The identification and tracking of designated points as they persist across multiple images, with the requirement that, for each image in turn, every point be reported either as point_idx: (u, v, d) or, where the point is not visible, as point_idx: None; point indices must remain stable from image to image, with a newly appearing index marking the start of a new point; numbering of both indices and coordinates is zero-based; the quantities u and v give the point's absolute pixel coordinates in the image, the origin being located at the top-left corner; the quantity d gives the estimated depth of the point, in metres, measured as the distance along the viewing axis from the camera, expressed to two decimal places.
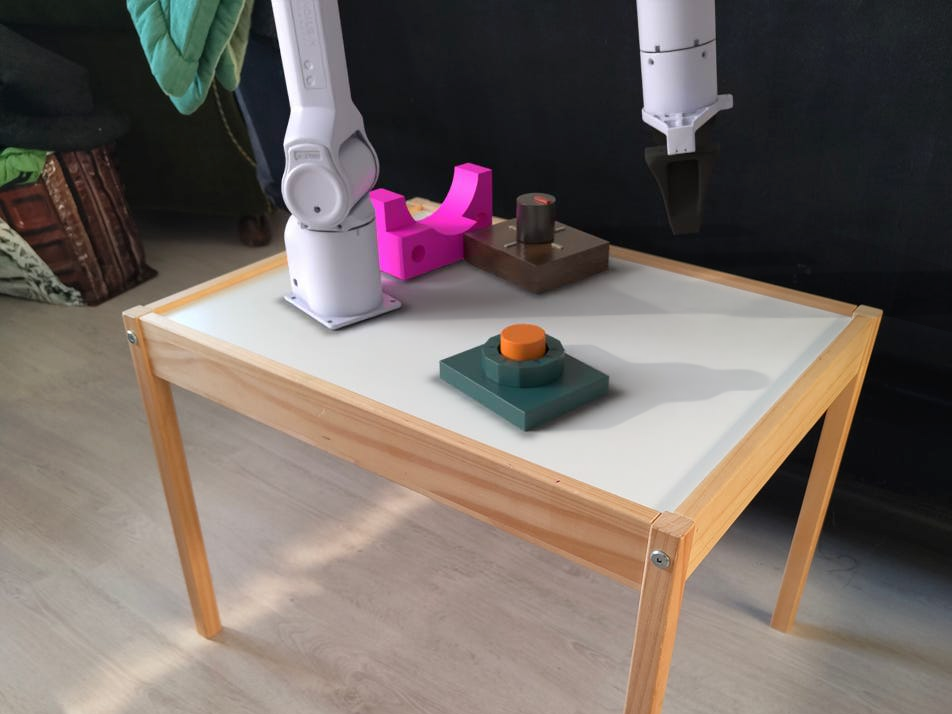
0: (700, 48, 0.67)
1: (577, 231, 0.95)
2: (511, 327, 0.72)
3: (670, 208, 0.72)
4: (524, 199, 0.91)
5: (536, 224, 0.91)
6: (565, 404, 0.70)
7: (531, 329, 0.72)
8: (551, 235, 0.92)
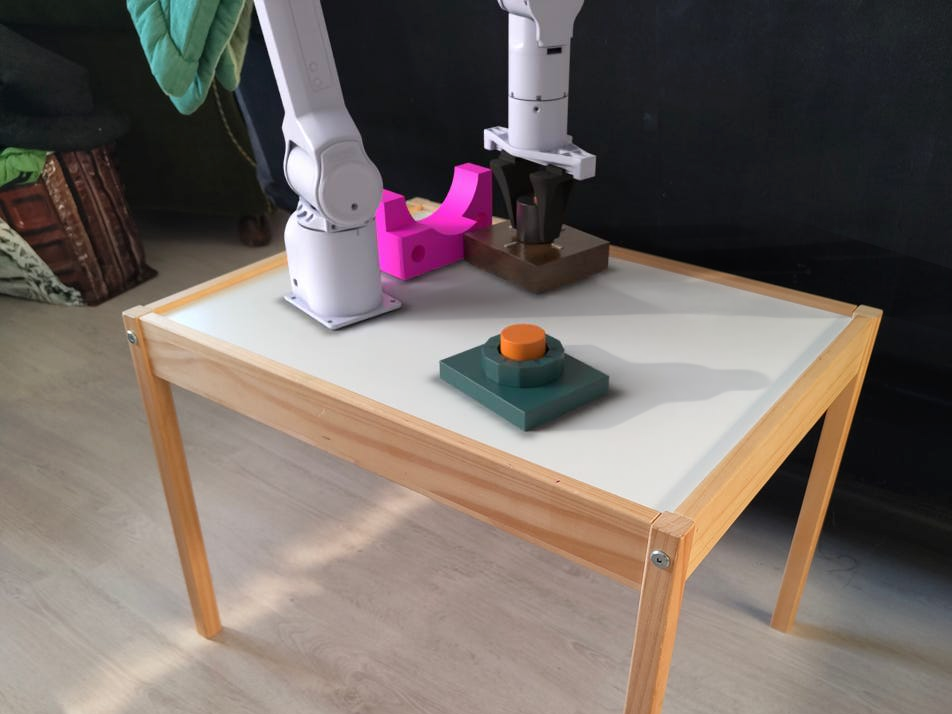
0: (567, 97, 0.85)
1: (577, 231, 0.95)
2: (511, 327, 0.72)
3: (546, 220, 0.90)
4: (524, 199, 0.91)
5: (536, 224, 0.91)
6: (565, 404, 0.70)
7: (531, 329, 0.72)
8: None
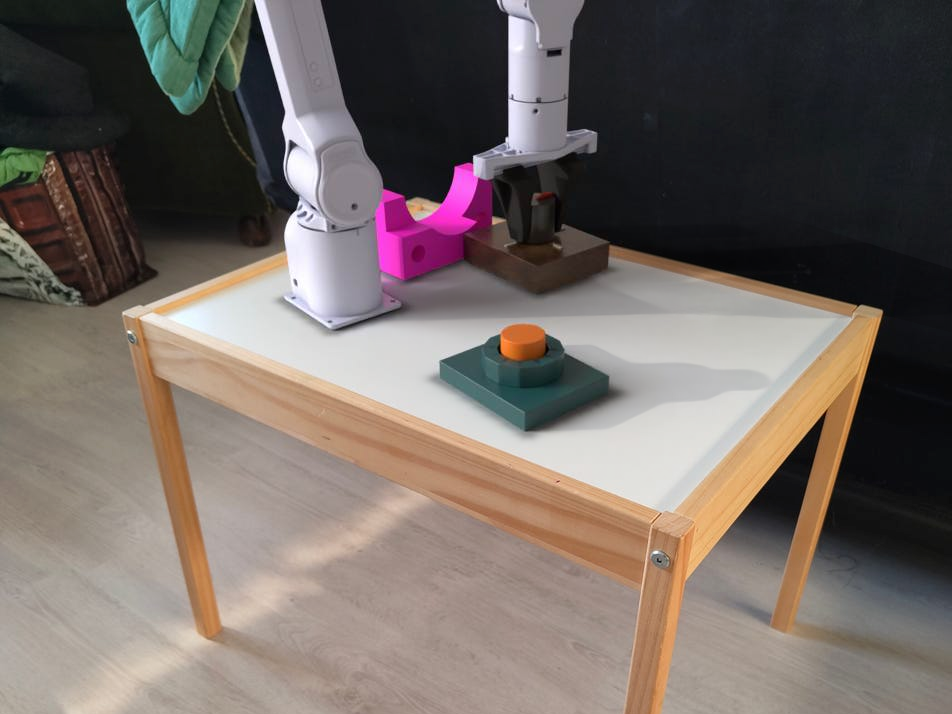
0: None
1: (577, 231, 0.95)
2: (511, 327, 0.72)
3: (565, 208, 0.93)
4: (537, 202, 0.90)
5: None
6: (565, 404, 0.70)
7: (531, 329, 0.72)
8: None
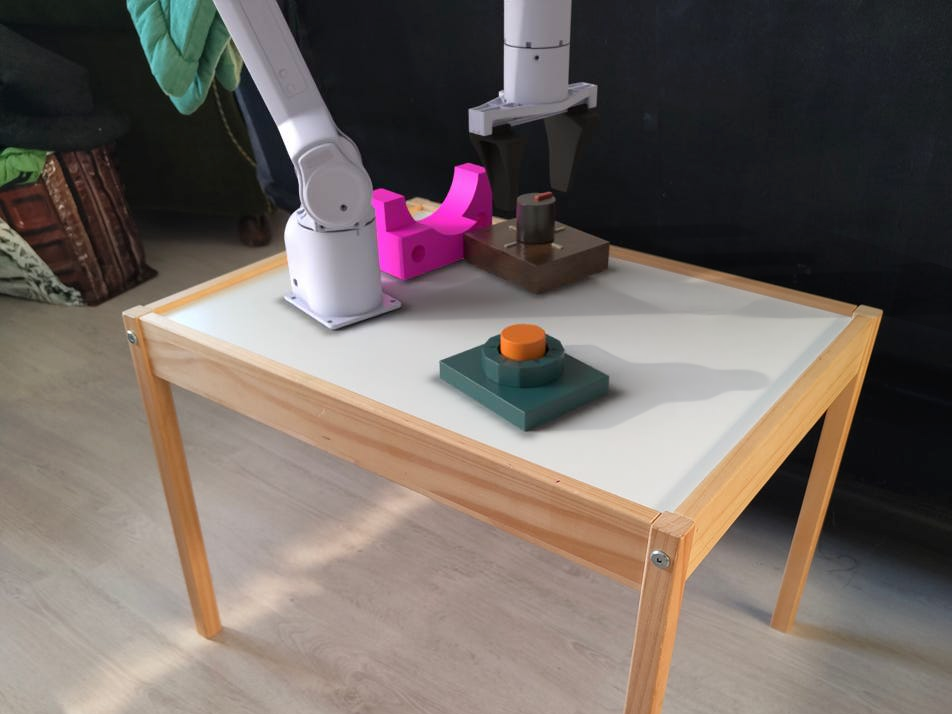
0: None
1: (577, 231, 0.95)
2: (511, 327, 0.72)
3: (575, 166, 0.86)
4: (537, 202, 0.90)
5: None
6: (565, 404, 0.70)
7: (531, 329, 0.72)
8: None
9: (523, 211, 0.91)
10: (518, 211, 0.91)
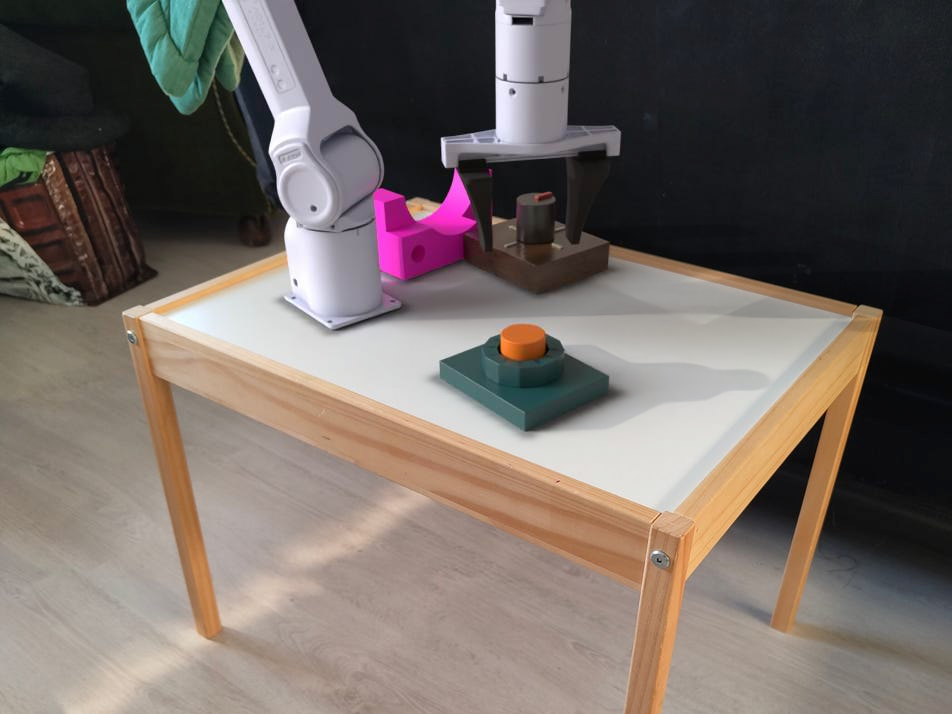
0: None
1: None
2: (511, 327, 0.72)
3: (584, 218, 0.76)
4: (537, 202, 0.90)
5: None
6: (565, 404, 0.70)
7: (531, 329, 0.72)
8: None
9: (523, 211, 0.91)
10: (518, 211, 0.91)
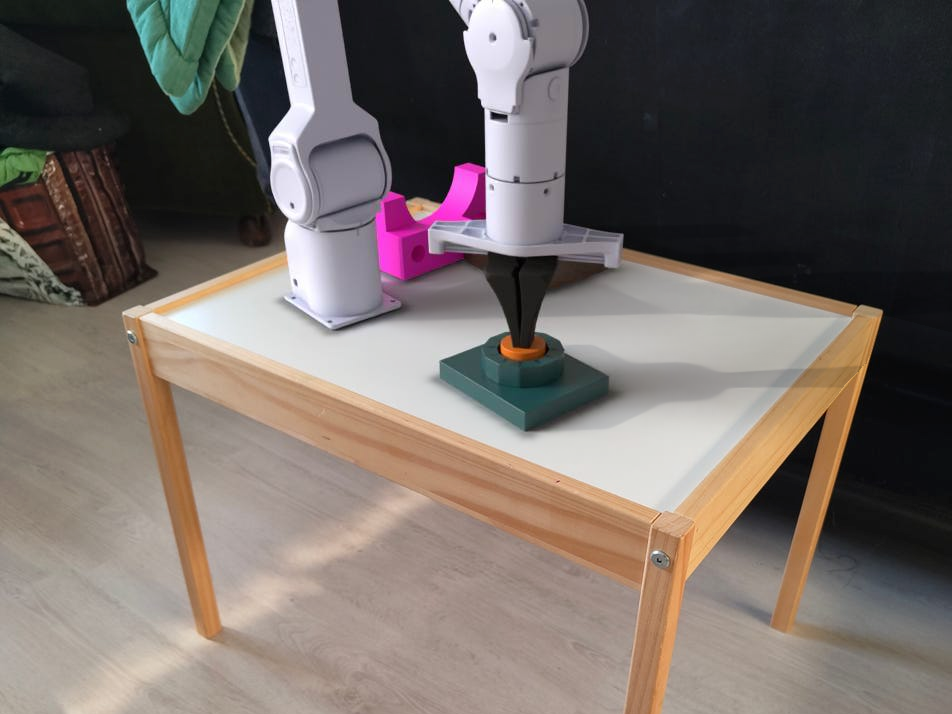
0: None
1: None
2: None
3: (533, 323, 0.69)
4: None
5: None
6: (565, 404, 0.70)
7: None
8: None
9: None
10: None
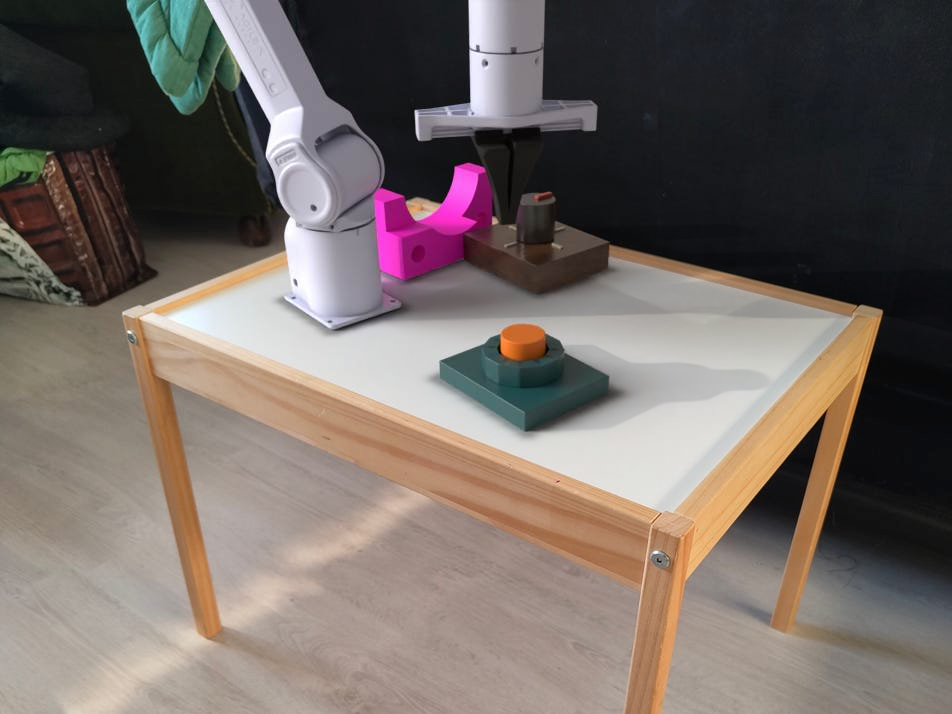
0: None
1: (577, 231, 0.95)
2: (511, 327, 0.72)
3: (520, 197, 0.75)
4: (537, 202, 0.90)
5: None
6: (565, 404, 0.70)
7: (531, 329, 0.72)
8: None
9: (523, 211, 0.91)
10: (518, 211, 0.91)
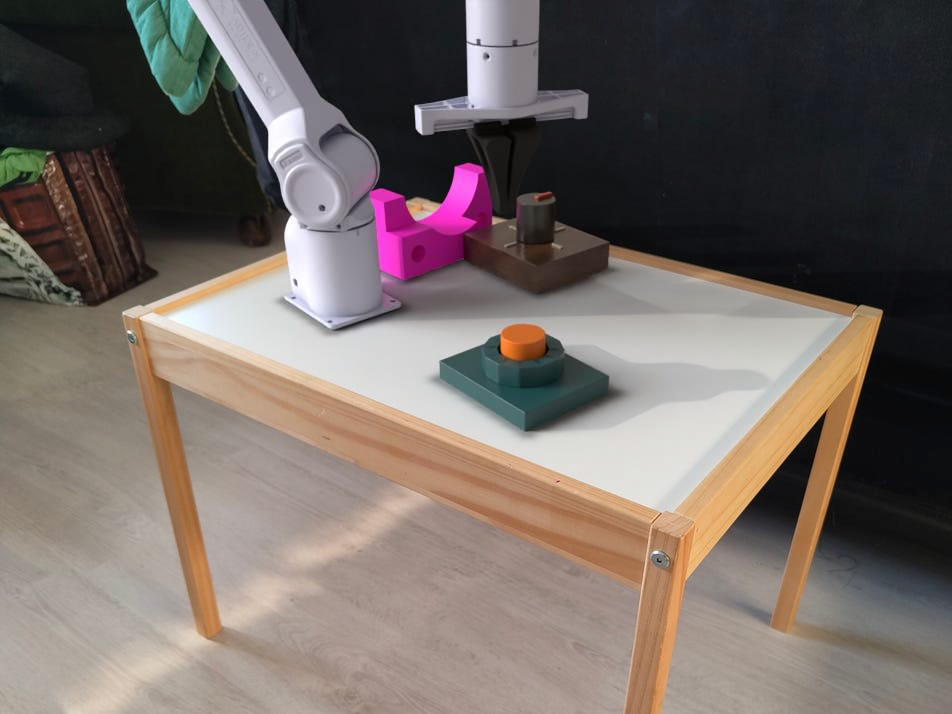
0: None
1: (577, 231, 0.95)
2: (511, 327, 0.72)
3: (518, 186, 0.77)
4: (537, 202, 0.90)
5: None
6: (565, 404, 0.70)
7: (531, 329, 0.72)
8: None
9: (523, 211, 0.91)
10: (518, 211, 0.91)
